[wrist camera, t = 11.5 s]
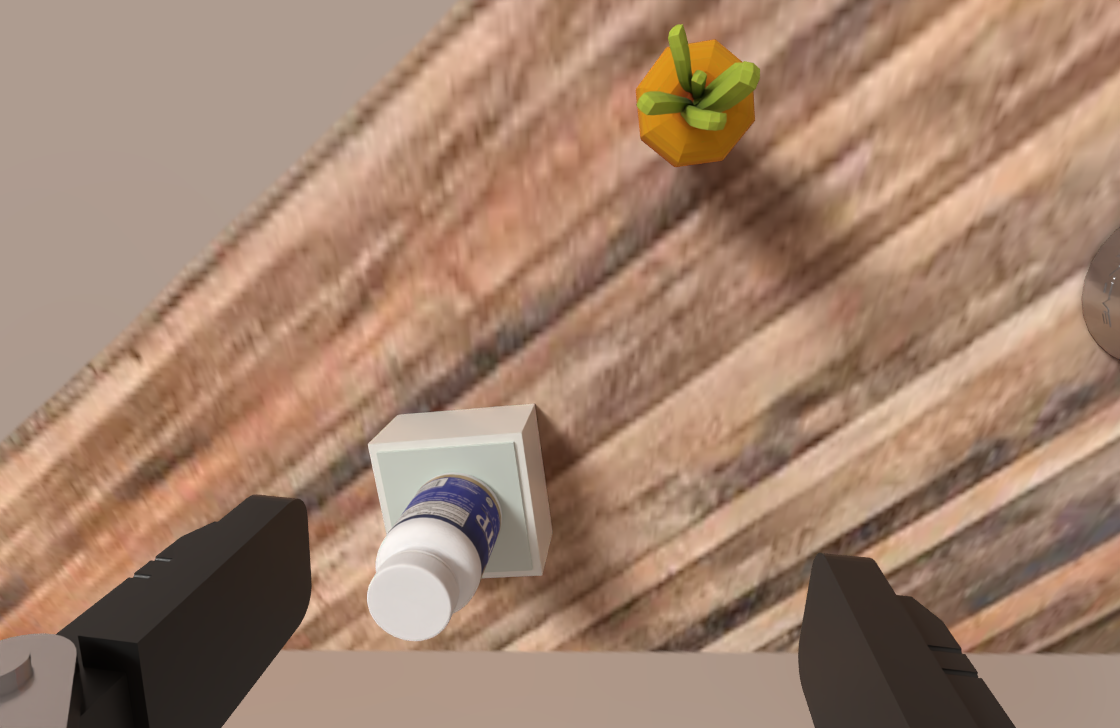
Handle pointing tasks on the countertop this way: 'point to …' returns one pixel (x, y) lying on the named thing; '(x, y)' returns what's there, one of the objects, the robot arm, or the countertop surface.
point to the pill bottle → (434, 556)
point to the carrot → (696, 101)
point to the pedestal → (473, 474)
